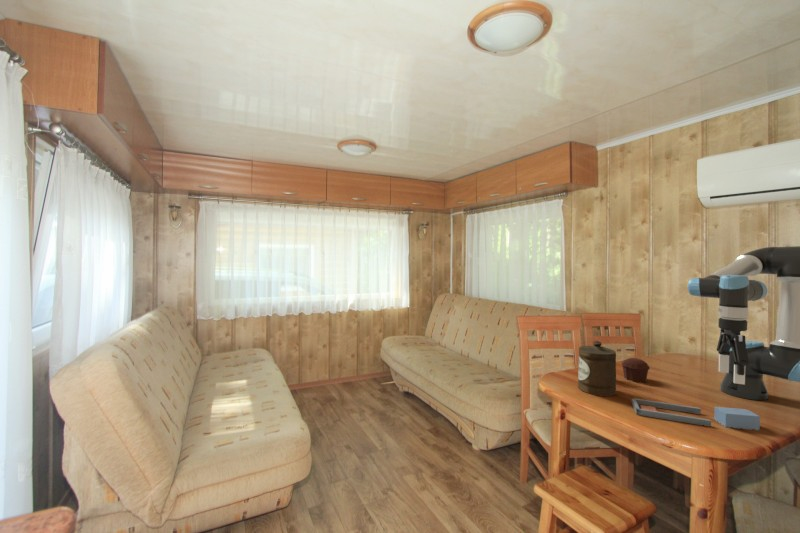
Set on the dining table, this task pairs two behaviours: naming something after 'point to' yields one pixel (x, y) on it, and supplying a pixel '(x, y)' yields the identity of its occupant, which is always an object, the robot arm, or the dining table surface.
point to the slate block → (737, 418)
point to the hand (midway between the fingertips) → (730, 377)
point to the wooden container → (597, 370)
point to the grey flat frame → (650, 411)
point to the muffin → (635, 369)
